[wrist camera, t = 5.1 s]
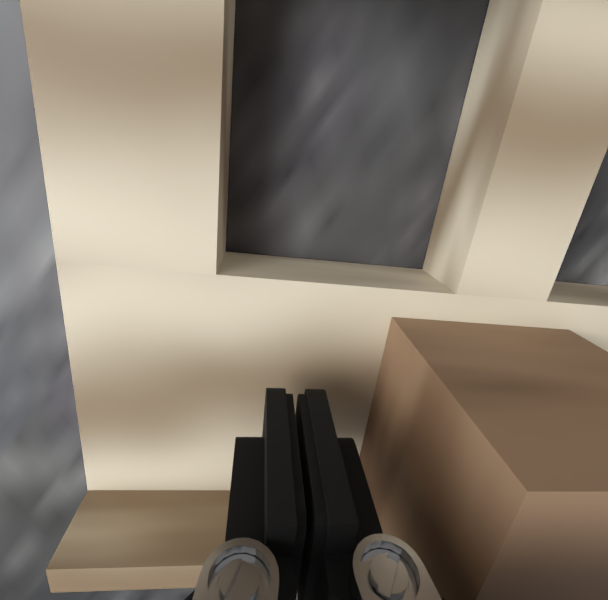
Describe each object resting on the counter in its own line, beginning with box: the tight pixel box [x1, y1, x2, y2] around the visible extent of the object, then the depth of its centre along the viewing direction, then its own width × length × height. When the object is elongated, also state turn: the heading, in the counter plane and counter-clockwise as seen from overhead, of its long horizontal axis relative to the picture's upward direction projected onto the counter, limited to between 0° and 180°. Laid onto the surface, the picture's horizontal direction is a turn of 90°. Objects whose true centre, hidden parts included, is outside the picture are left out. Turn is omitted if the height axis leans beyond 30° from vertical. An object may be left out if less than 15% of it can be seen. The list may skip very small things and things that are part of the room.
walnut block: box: [360, 317, 608, 600], centre depth 9 cm, size 6×6×6 cm
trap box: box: [20, 0, 608, 593], centre depth 11 cm, size 18×28×5 cm, turn 83°
